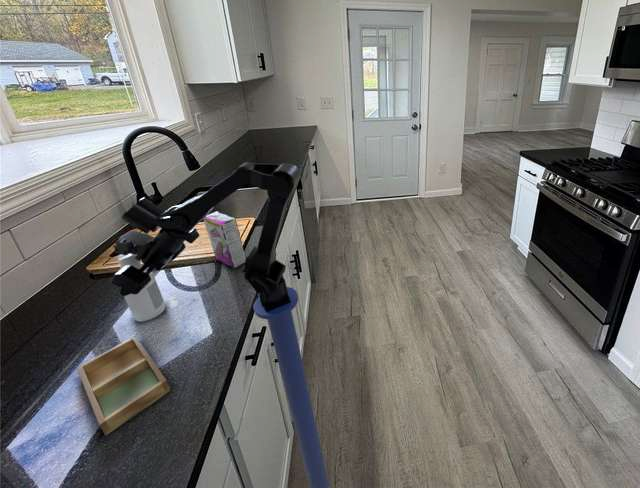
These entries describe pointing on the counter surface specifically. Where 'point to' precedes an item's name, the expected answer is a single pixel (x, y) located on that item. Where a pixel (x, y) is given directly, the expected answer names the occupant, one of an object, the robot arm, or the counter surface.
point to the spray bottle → (143, 294)
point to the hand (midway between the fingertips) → (136, 282)
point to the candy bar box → (225, 239)
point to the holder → (122, 383)
